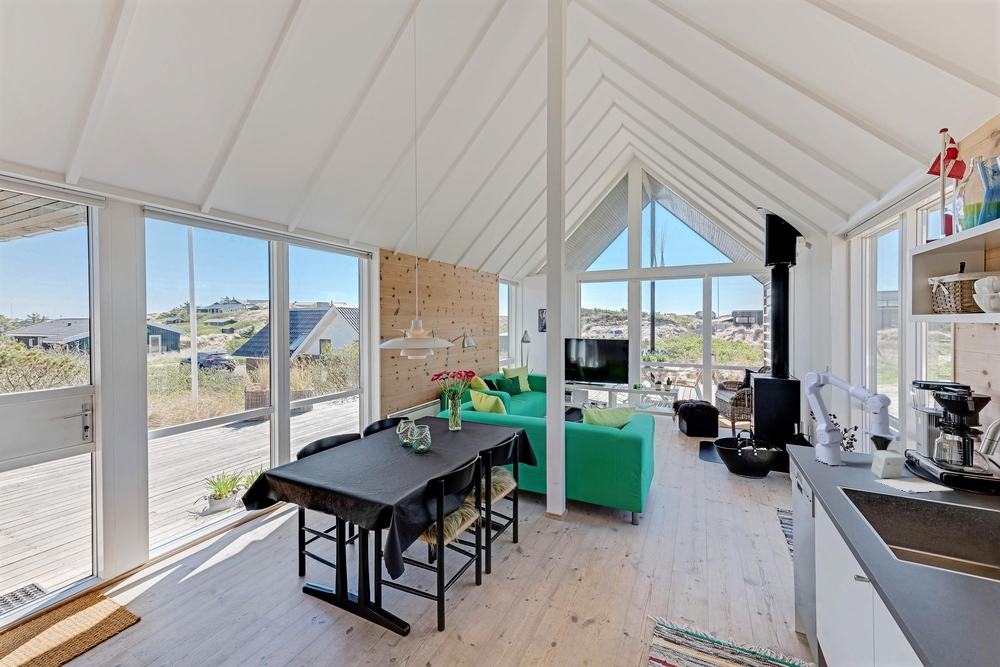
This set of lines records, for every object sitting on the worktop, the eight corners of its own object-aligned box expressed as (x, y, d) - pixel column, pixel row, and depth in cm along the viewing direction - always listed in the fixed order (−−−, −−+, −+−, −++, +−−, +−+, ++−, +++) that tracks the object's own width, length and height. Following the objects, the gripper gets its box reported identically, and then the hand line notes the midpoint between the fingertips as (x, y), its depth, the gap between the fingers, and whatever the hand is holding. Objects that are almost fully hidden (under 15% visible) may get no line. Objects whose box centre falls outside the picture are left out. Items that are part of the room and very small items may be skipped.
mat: (874, 481, 169) (874, 480, 169) (914, 478, 170) (914, 477, 170) (909, 493, 155) (909, 492, 155) (953, 490, 156) (953, 489, 156)
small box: (889, 470, 176) (895, 449, 172) (901, 478, 170) (906, 457, 167) (870, 470, 176) (874, 449, 173) (880, 479, 171) (885, 457, 168)
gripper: (906, 425, 167) (908, 458, 167) (872, 418, 182) (874, 449, 182) (890, 426, 167) (892, 459, 167) (857, 419, 182) (859, 450, 181)
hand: (882, 454), depth 174 cm, fingers closed
